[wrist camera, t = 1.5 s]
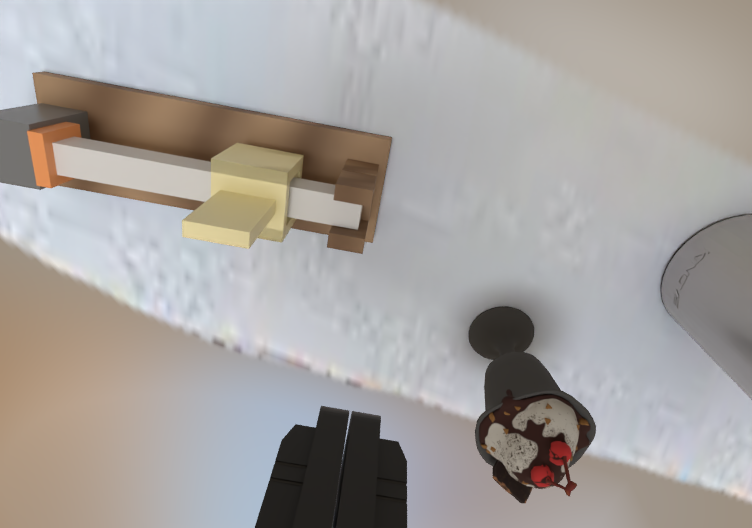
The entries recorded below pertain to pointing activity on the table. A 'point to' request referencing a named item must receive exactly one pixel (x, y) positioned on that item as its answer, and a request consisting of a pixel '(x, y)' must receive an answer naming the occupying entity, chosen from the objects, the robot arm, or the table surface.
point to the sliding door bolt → (129, 164)
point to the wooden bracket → (226, 144)
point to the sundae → (525, 410)
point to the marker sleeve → (246, 197)
